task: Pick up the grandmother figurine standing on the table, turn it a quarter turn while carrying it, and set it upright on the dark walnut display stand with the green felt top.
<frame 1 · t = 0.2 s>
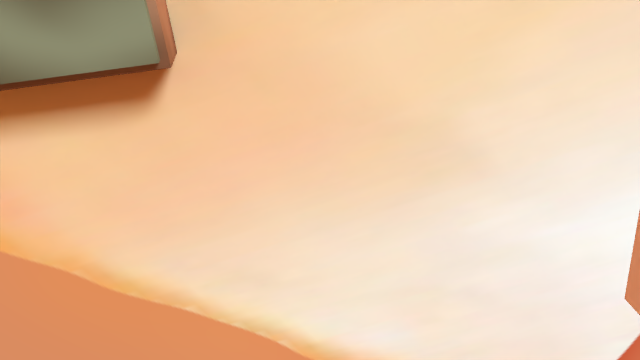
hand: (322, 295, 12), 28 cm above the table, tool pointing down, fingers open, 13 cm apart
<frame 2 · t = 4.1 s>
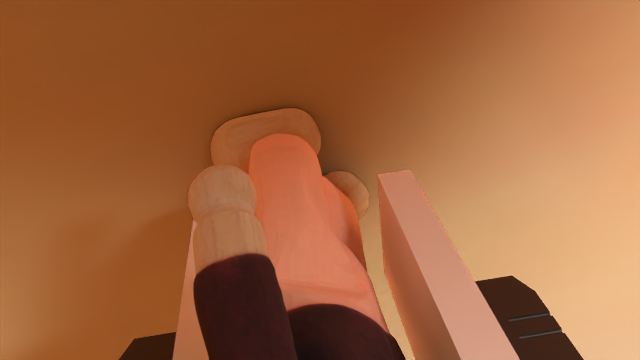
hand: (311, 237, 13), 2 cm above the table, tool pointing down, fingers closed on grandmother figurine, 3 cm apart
grandmother figurine: (303, 190, 15), on the table, touching gripper
when the fingers open (6 cm above the table, at t = 12.1 s): grandmother figurine stays where it is, resting on display stand.
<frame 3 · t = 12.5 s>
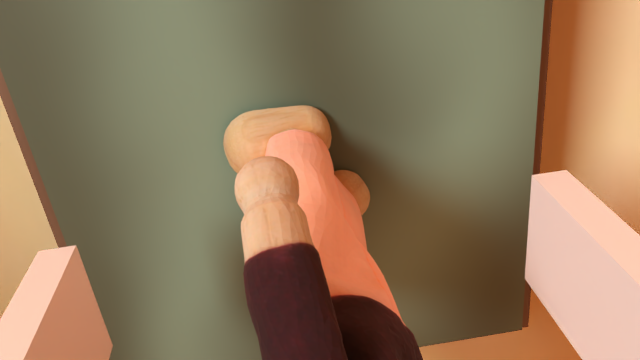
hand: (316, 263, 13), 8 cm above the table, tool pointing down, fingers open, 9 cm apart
grandmother figurine: (307, 186, 16), point 4 cm above the table, touching display stand
display stand: (290, 130, 19), on the table
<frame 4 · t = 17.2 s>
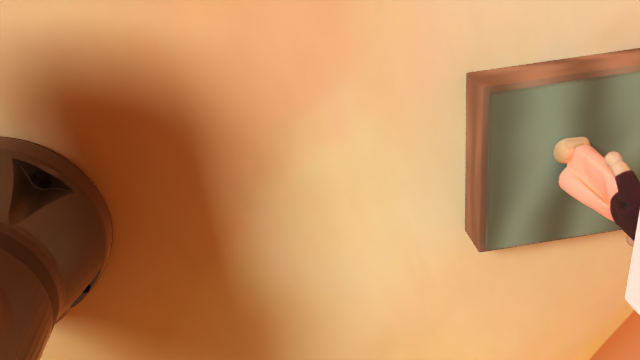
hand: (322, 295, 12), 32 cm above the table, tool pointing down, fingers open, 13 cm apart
grandmother figurine: (575, 165, 44), point 4 cm above the table, touching display stand
display stand: (550, 144, 47), on the table
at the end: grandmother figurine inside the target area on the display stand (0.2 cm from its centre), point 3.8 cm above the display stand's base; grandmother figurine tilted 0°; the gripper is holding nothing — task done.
